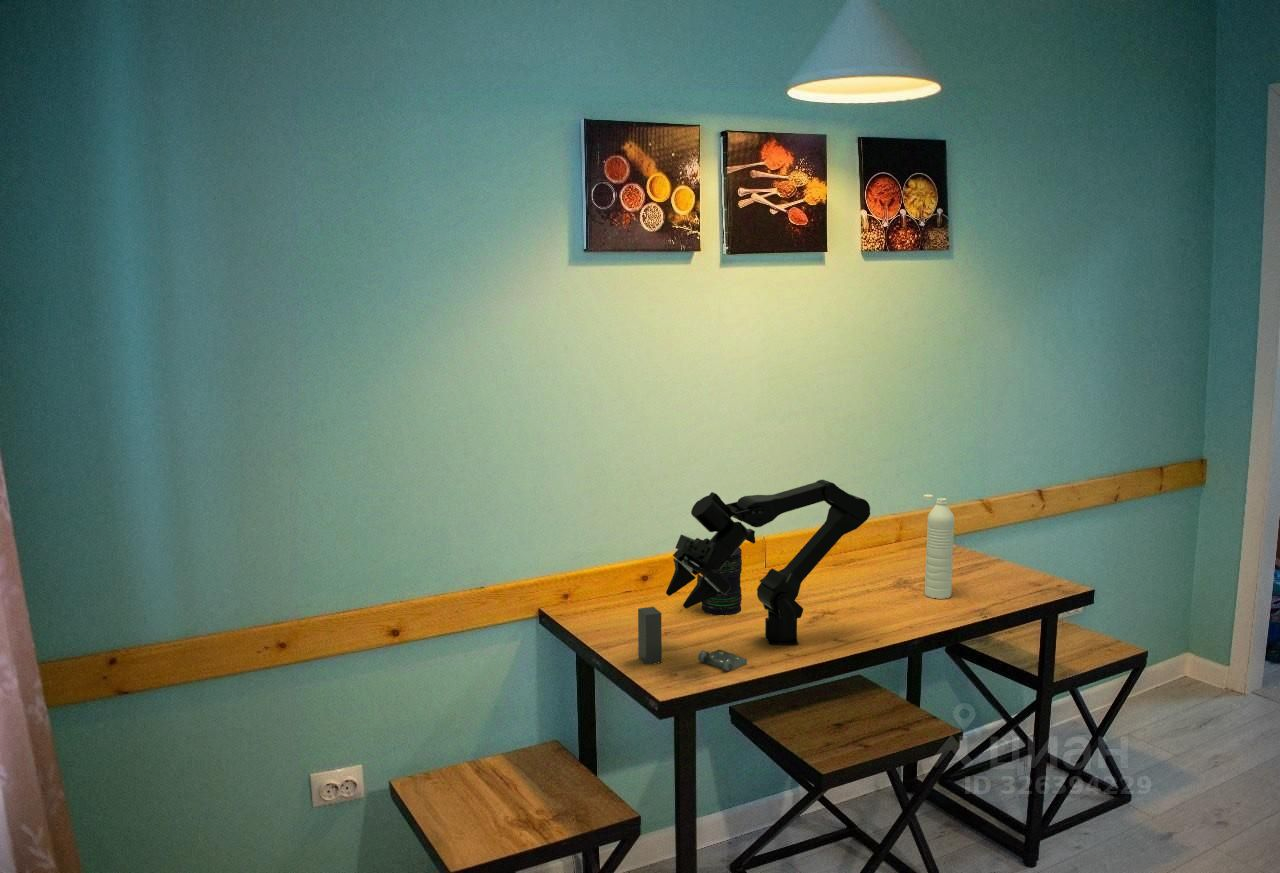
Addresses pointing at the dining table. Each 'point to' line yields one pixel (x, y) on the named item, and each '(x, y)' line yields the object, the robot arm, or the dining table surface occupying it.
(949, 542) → the water bottle
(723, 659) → the fixed hinge leaf
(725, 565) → the storage jar
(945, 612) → the dining table surface
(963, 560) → the dining table surface
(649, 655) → the dark grey block
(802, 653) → the dining table surface
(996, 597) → the dining table surface
